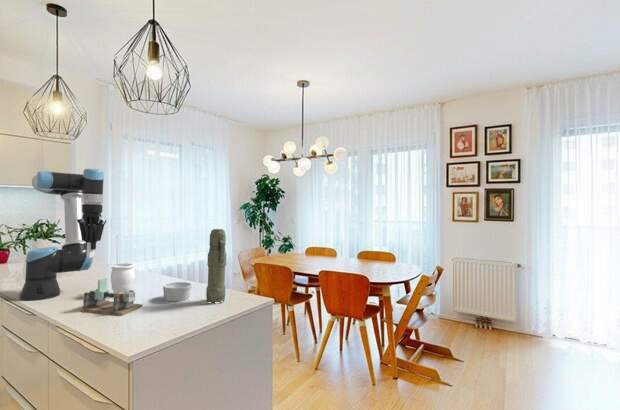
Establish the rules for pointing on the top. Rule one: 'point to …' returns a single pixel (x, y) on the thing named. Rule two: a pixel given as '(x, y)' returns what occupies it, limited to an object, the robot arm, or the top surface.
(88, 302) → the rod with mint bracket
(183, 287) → the ramekin
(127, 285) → the jar
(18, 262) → the top surface
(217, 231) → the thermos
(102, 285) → the mint green stepped block
